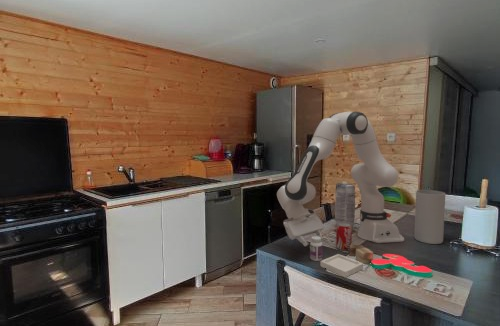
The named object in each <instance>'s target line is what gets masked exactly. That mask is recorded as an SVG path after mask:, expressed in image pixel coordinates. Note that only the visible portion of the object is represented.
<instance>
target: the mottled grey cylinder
mask: <svg viewBox="0 0 500 326" xmlns="http://www.w3.org/2000/svg"><path fill="white" fill-rule="evenodd" d="M334 198H335V201H334V202H335V203H334V205H335V206H334V207H335V208H334V221H335V224H336V227H337V226H338V223H341V222H344V223H349V224H350V226H351V228H352V230H353V229H354V225H355V221H356V220H355V213H356V186H355V185H354V183H348V181H342V182H341V183H339V182H338V183H336V184H335V197H334Z"/></svg>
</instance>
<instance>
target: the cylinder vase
mask: <svg viewBox="0 0 500 326" xmlns="http://www.w3.org/2000/svg"><path fill="white" fill-rule="evenodd" d="M445 209H446V192H444V191H439V190H432V189H418V190H416V191H415V208H414V213H415V214H414V231H413V232H414V233H413V234H414V235H413V238H414V239H415V240H416V241H418V242H420V243H423V244H430V245H440V244H443V242H444V230H445V228H444V227H445V211H446V210H445Z"/></svg>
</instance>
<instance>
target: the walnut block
mask: <svg viewBox="0 0 500 326" xmlns="http://www.w3.org/2000/svg"><path fill="white" fill-rule="evenodd" d="M360 248H365V247H364V245H359V244H352V245H351V244H350V249H349V256H350V257H355V256H356V249H360Z"/></svg>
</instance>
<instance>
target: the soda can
mask: <svg viewBox="0 0 500 326" xmlns="http://www.w3.org/2000/svg"><path fill="white" fill-rule="evenodd" d="M335 229H336V230H335V233H336V234H335V246H336V248H337V249H338V250H340V251H344V252H345V251H346V252H347V251H350V244H351V245H353V244H352V241H353V239H352V238H353V236H352V235H353V229H352V228H351V226H350V224H349V223H344V222H341V223H338V226H337V225H336V228H335Z"/></svg>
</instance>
